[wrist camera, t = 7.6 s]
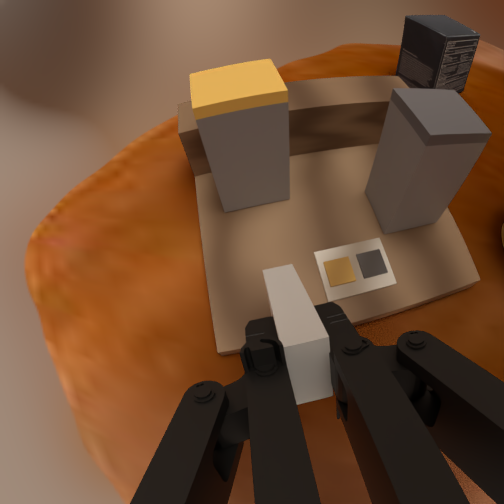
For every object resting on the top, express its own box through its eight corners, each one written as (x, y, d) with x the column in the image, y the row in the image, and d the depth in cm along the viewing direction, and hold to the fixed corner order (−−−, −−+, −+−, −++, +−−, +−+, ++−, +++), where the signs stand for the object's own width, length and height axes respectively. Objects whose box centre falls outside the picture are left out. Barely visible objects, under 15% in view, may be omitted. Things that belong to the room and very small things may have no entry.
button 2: (277, 161, 25) (270, 58, 16) (289, 198, 23) (287, 90, 14) (218, 174, 25) (189, 74, 16) (224, 212, 23) (191, 108, 14)
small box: (430, 68, 34) (444, 13, 24) (463, 92, 31) (483, 35, 22) (391, 79, 32) (403, 12, 23) (428, 106, 29) (449, 36, 20)
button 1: (415, 182, 22) (454, 90, 14) (436, 222, 21) (491, 133, 12) (364, 191, 23) (392, 88, 14) (383, 234, 21) (430, 135, 12)
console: (384, 122, 28) (395, 73, 22) (471, 286, 20) (516, 250, 14) (195, 152, 28) (177, 101, 23) (222, 355, 20) (195, 338, 14)
